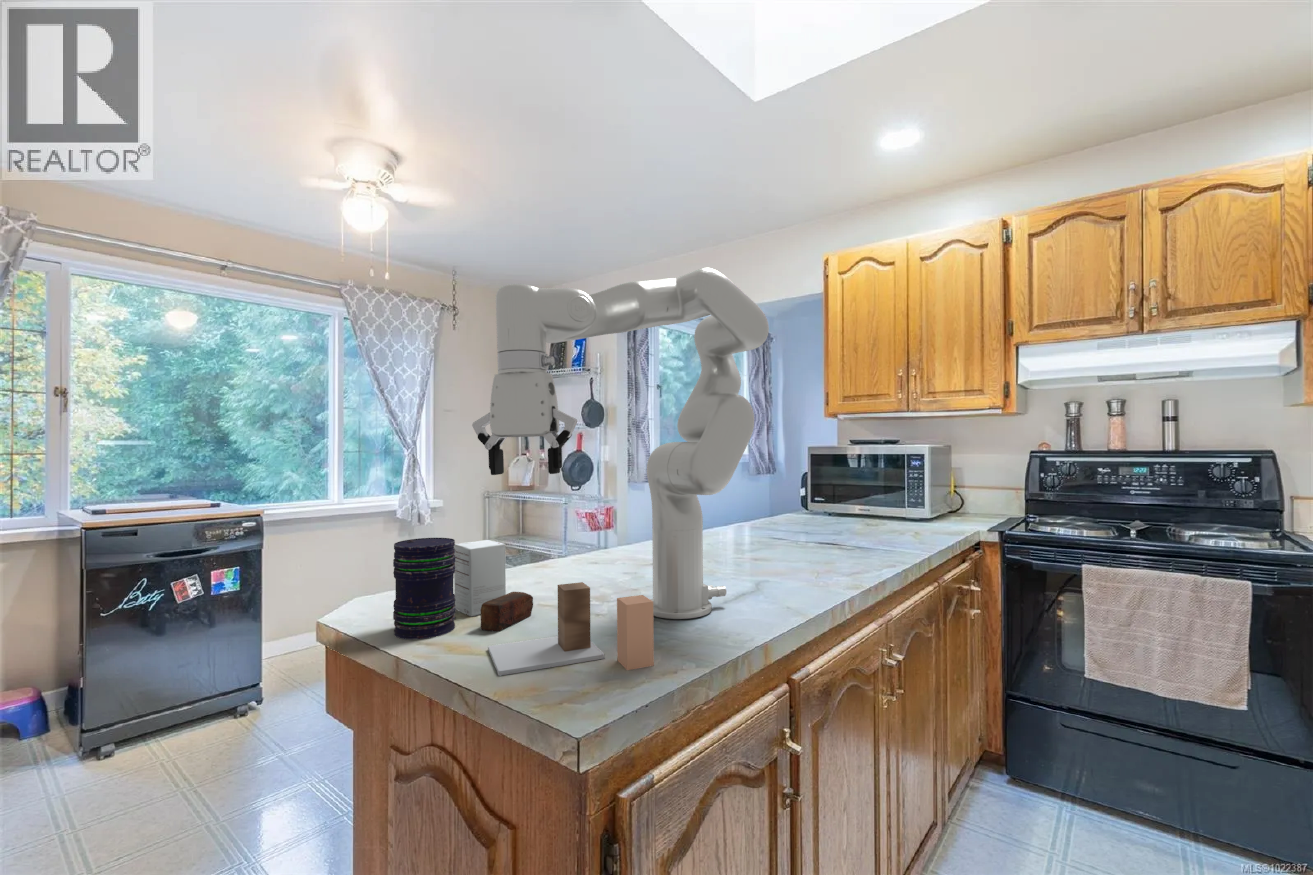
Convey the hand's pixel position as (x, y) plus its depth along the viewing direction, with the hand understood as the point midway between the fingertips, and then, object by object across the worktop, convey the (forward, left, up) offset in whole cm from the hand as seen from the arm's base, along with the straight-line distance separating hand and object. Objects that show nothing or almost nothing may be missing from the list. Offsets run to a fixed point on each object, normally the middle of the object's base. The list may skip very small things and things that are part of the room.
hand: (525, 473), depth 90 cm
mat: (-2, +6, -27) cm, 27 cm away
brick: (+1, -13, -27) cm, 30 cm away
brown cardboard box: (-6, +6, -26) cm, 27 cm away
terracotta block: (-13, +15, -27) cm, 33 cm away
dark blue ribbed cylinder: (+14, -14, -27) cm, 34 cm away
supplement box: (+4, -23, -27) cm, 36 cm away
